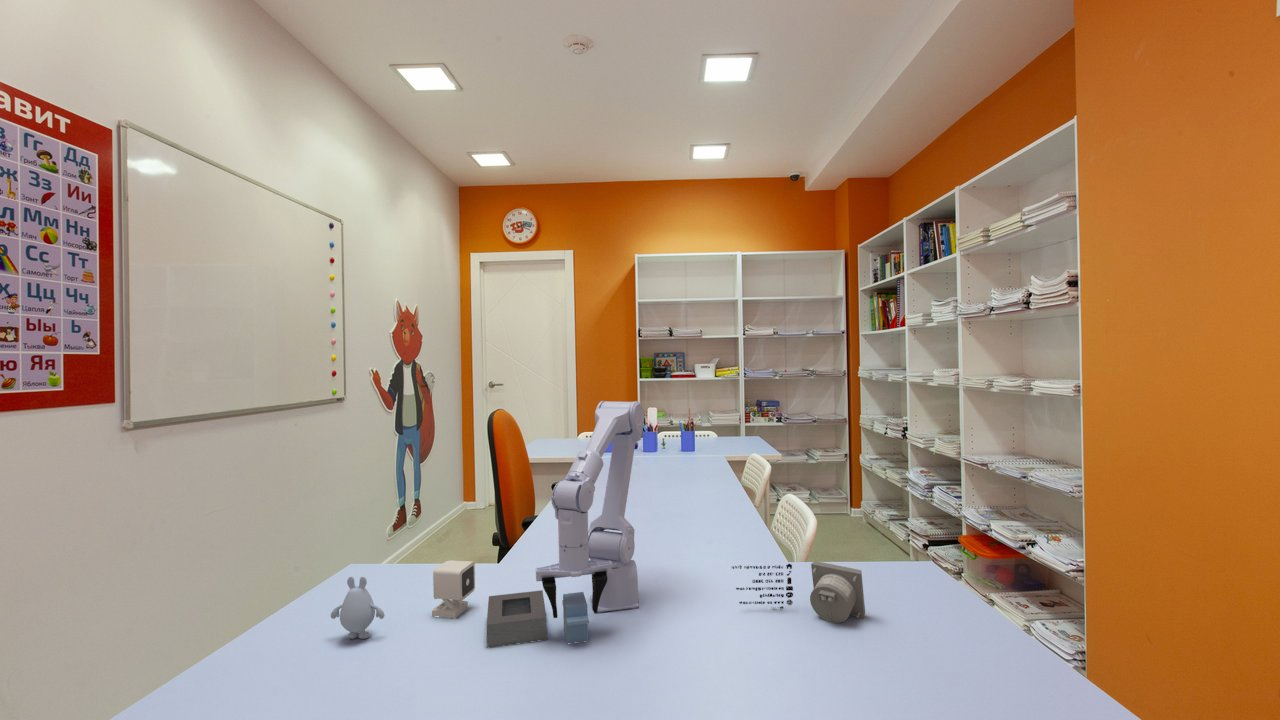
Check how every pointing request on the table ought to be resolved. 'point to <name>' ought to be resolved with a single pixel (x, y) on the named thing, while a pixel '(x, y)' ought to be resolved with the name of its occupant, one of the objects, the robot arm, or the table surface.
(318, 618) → the table surface
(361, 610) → the toy figure
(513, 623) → the frame
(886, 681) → the table surface
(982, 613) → the table surface
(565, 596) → the block
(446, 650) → the table surface
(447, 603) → the security camera
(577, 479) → the robot arm
